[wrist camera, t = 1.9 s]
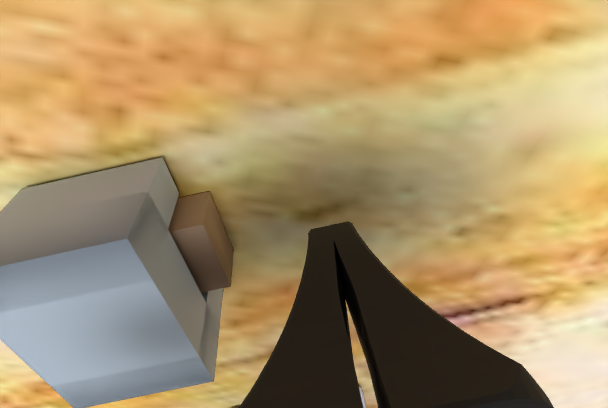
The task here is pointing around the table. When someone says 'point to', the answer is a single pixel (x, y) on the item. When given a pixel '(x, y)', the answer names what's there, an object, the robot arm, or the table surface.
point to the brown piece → (202, 241)
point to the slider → (104, 288)
